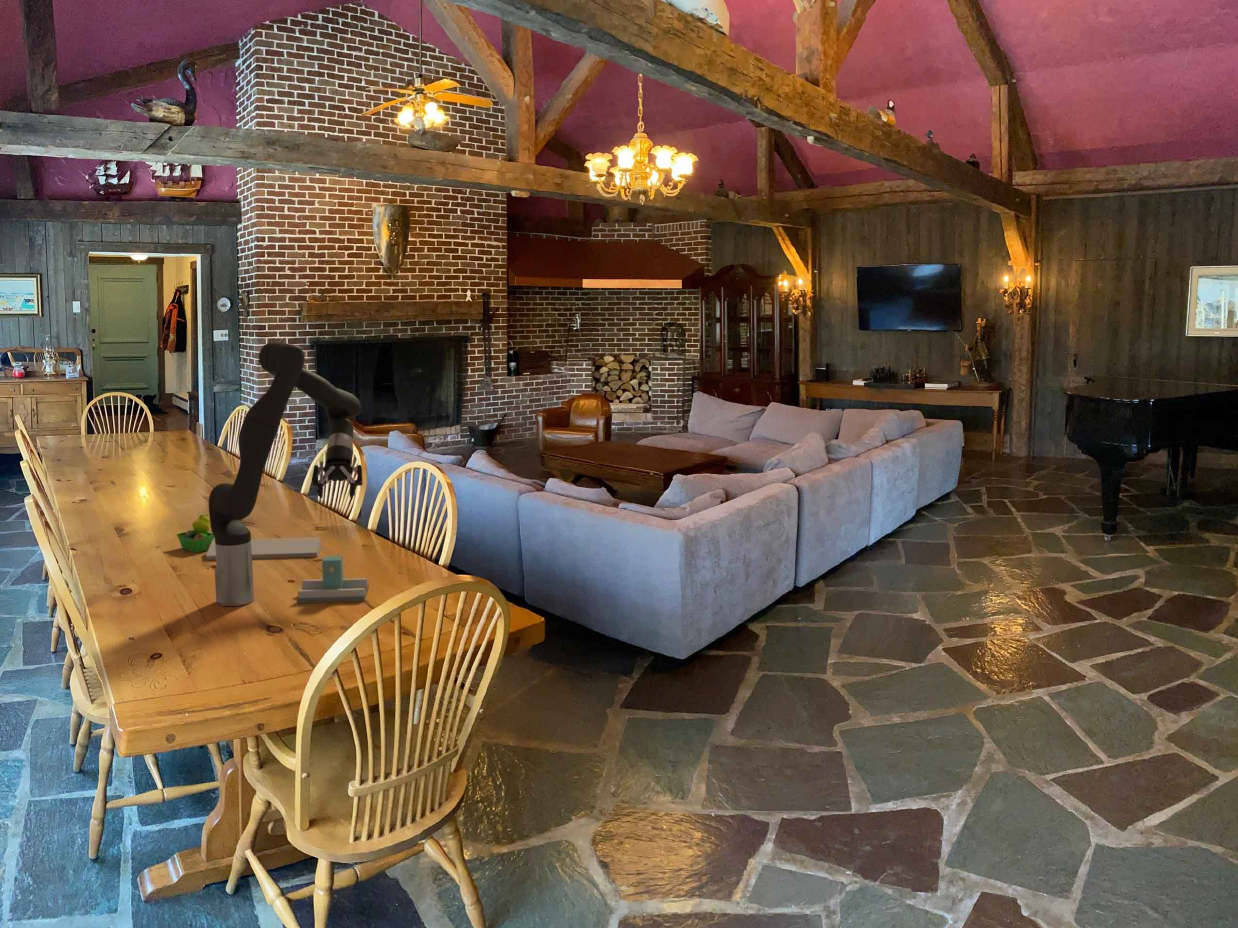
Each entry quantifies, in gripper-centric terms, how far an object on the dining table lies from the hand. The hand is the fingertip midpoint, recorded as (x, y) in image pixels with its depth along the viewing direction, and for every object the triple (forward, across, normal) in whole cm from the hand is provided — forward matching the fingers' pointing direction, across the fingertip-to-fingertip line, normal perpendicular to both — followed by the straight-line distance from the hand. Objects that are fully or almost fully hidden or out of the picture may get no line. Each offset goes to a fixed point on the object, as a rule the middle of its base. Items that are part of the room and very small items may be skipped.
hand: (336, 496), depth 275 cm
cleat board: (+26, 0, +11) cm, 29 cm away
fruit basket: (-12, -51, +50) cm, 73 cm away
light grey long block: (-5, -28, +44) cm, 53 cm away
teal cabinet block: (+26, 0, +10) cm, 28 cm away
